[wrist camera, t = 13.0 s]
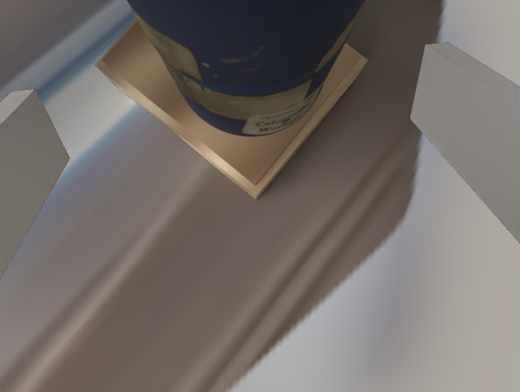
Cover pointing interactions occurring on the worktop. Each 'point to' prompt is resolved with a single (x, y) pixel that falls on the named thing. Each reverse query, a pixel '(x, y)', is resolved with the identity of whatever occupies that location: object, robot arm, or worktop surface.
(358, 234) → the worktop surface
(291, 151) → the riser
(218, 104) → the canister
